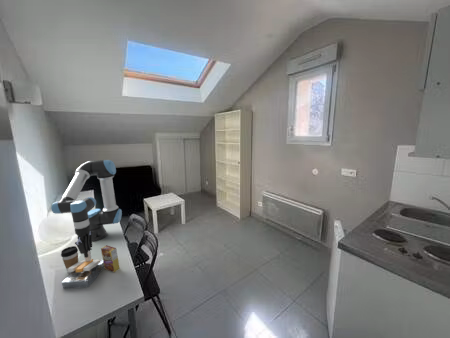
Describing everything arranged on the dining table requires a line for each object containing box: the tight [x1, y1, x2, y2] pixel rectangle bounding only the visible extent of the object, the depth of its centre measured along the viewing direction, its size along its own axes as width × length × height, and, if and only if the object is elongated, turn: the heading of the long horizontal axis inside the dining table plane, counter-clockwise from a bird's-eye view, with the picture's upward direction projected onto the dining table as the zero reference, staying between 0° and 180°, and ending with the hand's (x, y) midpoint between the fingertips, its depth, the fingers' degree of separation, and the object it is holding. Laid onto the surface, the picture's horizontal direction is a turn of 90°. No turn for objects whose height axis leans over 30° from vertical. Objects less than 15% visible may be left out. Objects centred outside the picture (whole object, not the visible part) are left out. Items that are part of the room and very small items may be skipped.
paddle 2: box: [84, 259, 102, 271], centre depth 118 cm, size 11×3×2 cm, turn 3°
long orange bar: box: [75, 258, 94, 272], centre depth 117 cm, size 11×3×2 cm, turn 3°
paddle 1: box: [68, 259, 85, 272], centre depth 117 cm, size 11×3×2 cm, turn 3°
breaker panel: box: [61, 259, 105, 289], centre depth 118 cm, size 18×14×5 cm
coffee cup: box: [60, 245, 79, 274], centre depth 122 cm, size 8×8×15 cm
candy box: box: [100, 244, 120, 273], centre depth 122 cm, size 9×4×15 cm, turn 69°
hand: (88, 260), depth 121 cm, fingers closed
